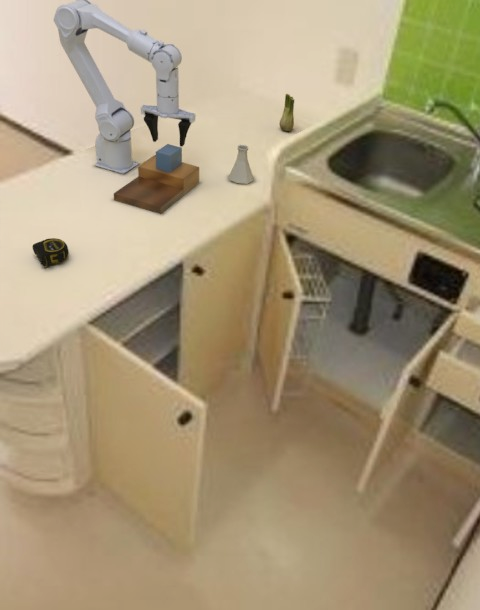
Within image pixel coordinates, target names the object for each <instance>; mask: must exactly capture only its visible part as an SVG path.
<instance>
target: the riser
mask: <svg viewBox="0 0 480 610" xmlns="http://www.w3.org/2000/svg"><path fill="white" fill-rule="evenodd" d="M137 173H138V176H137V177H135V178H134V179H132V180H131V181H129V182H128V183H127V184H125V185H124V186H122V187H120V188H119V189H118V190H116V191H115V192H113V201H117V202H120V203H122V204H126V205H129V206H133V207H137V208H140V209H143V210H147V211H151V212H153V213H156V214H160V215H161V214H163V213H165V211H167V210H168V209H169V208H170V207H171V206H172V205H174V204H175V203H176V202H177V201H179V200H180V199H181V198H183V197H184V196H185V195H186V194H188V193H189V192H190V191H191V190H192V189H194V188H195V187H196V186H197V185H199V184H200V167H199V166H198V165H194V164H190V163H186V162H183V161H182V165H180V166H179V167H177V168H176V169H175V170H173V171H172V172H171V173H170V172H166V171H162V170H159V169H156V154H154V155H153V156H151V157H150V158H147V160H145V161H143V162H142V163H140V164H138V165H137Z"/></svg>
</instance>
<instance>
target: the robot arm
mask: <svg viewBox="0 0 480 610" xmlns="http://www.w3.org/2000/svg"><path fill="white" fill-rule="evenodd" d="M53 22H54V24H55V26H56V28H57V31H58V37H59V43H60V45H61V47H62V48H63V51H64V52H65V54H66V56H67V57H68V59H69V62H70V63H71V65H72V67H73V69H74V70H75V72H76V74H77V75H78V78H79V80H80V81H81V82H82V85H83V87H84V88H85V90H86V91H87V93H88V95H89V97H90V99H91V101H92V102H93V104H94V106H95V114H94V118H95V121H96V123H97V127H98V131H99V133H98V134H97V135H96V138H95V142H94V147H95V157H96V163H95V164H94V166H95V167H98V168H101V169H105V170H108V171H112V172H116V173H120V174H126V173H128V172H129V171H131V170H132V169H134V168H135V167H137V166H139V161H135V160H133V152H132V151H133V150H132V149H133V148H132V134H131V133H132V132H131V130H132V129H133V128H134V126H135V118H134V116H133V114H132V112H130V110H128V109H127V108H126V107H125V105H124V103H123V102H122V101H120V100H118V99H116V98H115V97H114V95H113V93H112V91H111V89H110V87H109V85H108V84H107V82H106V80H105V78H104V77H103V74H102V73H101V71H100V69H99V68H98V66H97V63H96V61H95V59H94V58H93V56H92V54H91V52H90V51H89V48H88V47H87V45H86V43H85V40H86V37H87V34H88V31H89V30H94V29H98V30H100V31H102V32H103V33H106V34H108V35H110V36H112V37H114V38H115V39H118V40H119V41H122V42H123V43H125V44H126V47H127V49H128V51H130V52H131V53H133V54H135V55H137V56H138V57H140V58H142V59H143V60H145V61H147V62H149V63H151V65H152V67H153V69H154V71H155V85H156V86H155V88H156V105H147V104H142V105H141V106H140V114H141V115H144V117H143V122H144V123H145V124H146V126H147V128H148V131H149V133H150V135H151V139H152V142H153V143H156V142H157V141H158V140H159V129H158V125H159V118H160V119H161V118H162V119H174V120H179V122H178V123H177V126H178V132H179V147H181V148H183V147H184V145H185V144H186V138H187V134H188V132H189V129H190V127H191V125H192V124H194V123H195V121H196V113H195V112H190V111H187V110H185V109H180V97H179V96H180V90H179V89H180V86H179V82H180V81H179V79H180V77H179V66H180V65H181V63H182V59H183V58H182V53H181V51H180V49H179V48H178V47H177V46H175V45H174V44H173V43H165V42H164V41H162V40H158V39H156V38H155V37H153V36H151V35H150V34H148V31H147V30H146V29H138V28H137V29H134V30H132V29H130V28H129V27H127V26H126V25H125V24H123V23H121V22H120V21H118V20H117V19H115V18H114V17H112V16H110V15H109V14H108V13H106V12H105V11H103V10H102V9H101V8H100V7H99V6H98V4H96V3H94V2H93V3H92V2H91V1H90V0H74V1H71V2H68V3H66V4H60V5H59V6H57V8H56V9H55V13H54V17H53Z"/></svg>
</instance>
